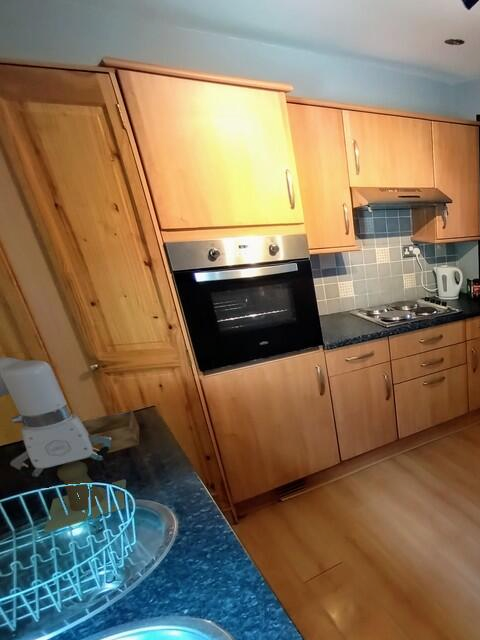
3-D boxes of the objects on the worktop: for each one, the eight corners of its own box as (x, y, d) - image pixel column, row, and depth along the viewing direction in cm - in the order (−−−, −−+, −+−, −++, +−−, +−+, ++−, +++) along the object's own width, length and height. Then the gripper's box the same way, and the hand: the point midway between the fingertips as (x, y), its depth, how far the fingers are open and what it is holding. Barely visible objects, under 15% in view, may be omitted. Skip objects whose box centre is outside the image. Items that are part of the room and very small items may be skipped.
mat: (45, 533, 101) (44, 531, 101) (54, 501, 111) (53, 499, 111) (124, 508, 109) (123, 506, 109) (126, 480, 119) (125, 478, 119)
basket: (80, 459, 128) (71, 440, 126) (85, 440, 138) (77, 422, 135) (138, 445, 135) (131, 426, 133) (139, 427, 145) (132, 410, 142)
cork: (102, 491, 114) (85, 454, 109) (104, 502, 110) (87, 465, 105) (70, 502, 110) (51, 464, 105) (71, 514, 106) (52, 475, 101)
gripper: (-14, 434, 93) (22, 501, 100) (96, 411, 102) (122, 474, 109) (-5, 420, 98) (29, 485, 105) (99, 399, 108) (123, 460, 115)
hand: (76, 479), depth 107 cm, fingers open, 9 cm apart
